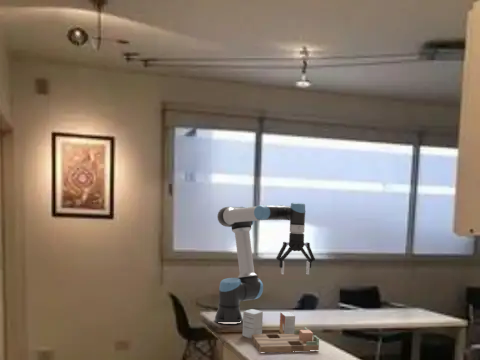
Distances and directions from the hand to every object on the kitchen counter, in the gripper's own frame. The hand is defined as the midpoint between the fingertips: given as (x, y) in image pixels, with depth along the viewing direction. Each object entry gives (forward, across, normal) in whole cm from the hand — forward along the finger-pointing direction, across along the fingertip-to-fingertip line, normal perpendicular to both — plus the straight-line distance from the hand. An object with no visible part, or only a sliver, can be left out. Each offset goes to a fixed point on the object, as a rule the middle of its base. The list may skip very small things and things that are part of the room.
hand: (295, 274), depth 253 cm
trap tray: (+32, -9, -15) cm, 36 cm away
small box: (+32, -2, +3) cm, 32 cm away
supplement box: (+32, -21, +1) cm, 38 cm away
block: (+29, +2, -16) cm, 33 cm away
